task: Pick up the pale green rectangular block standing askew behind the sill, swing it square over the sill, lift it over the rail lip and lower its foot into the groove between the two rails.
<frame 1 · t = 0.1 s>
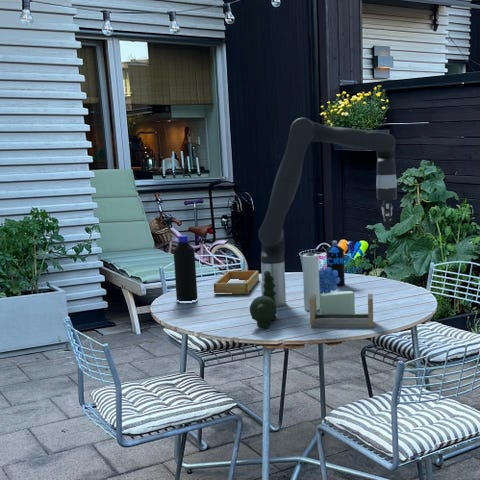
hand: (387, 229, 238), 29 cm above the table, tool pointing down, fingers open, 8 cm apart
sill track: (342, 324, 216), on the table
pale green rectangular block: (337, 317, 226), on the table
grapes: (326, 295, 262), on the table
tray: (237, 288, 286), on the table
toy figurine: (266, 323, 223), on the table
bottle: (187, 301, 263), on the table
paper towel roll: (312, 309, 240), on the table
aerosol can: (336, 285, 280), on the table
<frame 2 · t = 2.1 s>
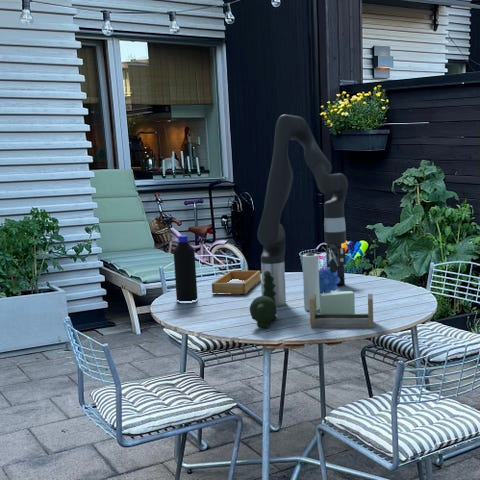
hand: (336, 274, 224), 16 cm above the table, tool pointing down, fingers open, 8 cm apart
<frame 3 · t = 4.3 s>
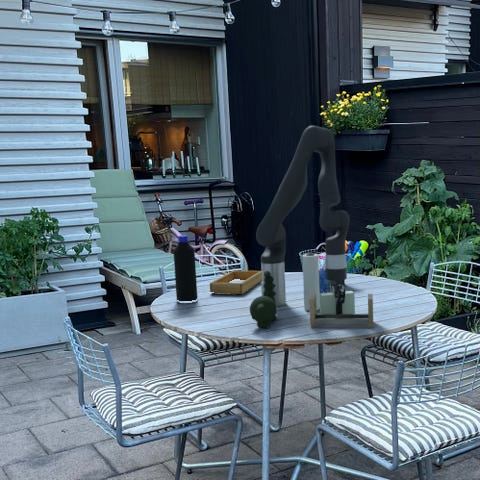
hand: (337, 312, 226), 2 cm above the table, tool pointing down, fingers closed on pale green rectangular block, 3 cm apart
pale green rectangular block: (337, 317, 226), on the table, touching gripper
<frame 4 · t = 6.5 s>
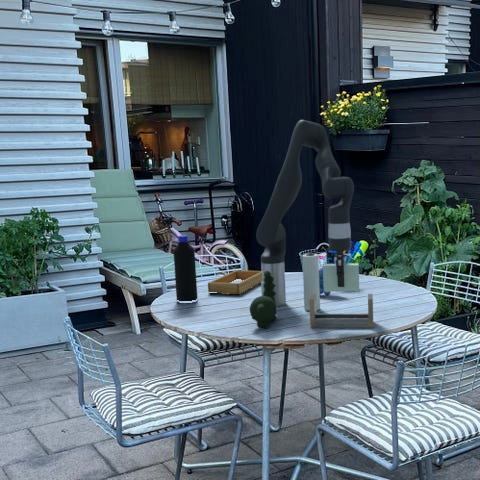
hand: (341, 285, 214), 14 cm above the table, tool pointing down, fingers closed on pale green rectangular block, 3 cm apart
pale green rectangular block: (341, 290, 214), point 12 cm above the table, touching gripper
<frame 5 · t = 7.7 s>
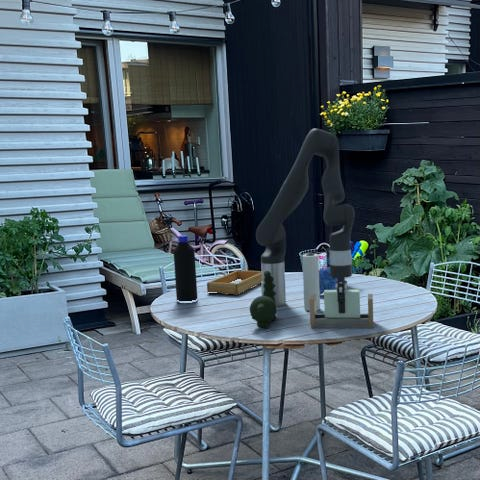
hand: (342, 311, 215), 5 cm above the table, tool pointing down, fingers closed on pale green rectangular block, 3 cm apart
pale green rectangular block: (342, 316, 215), point 3 cm above the table, touching gripper
when the fingers open (4 cm above the table, at t = 8.5 s): pale green rectangular block drops 1 cm, resting on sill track.
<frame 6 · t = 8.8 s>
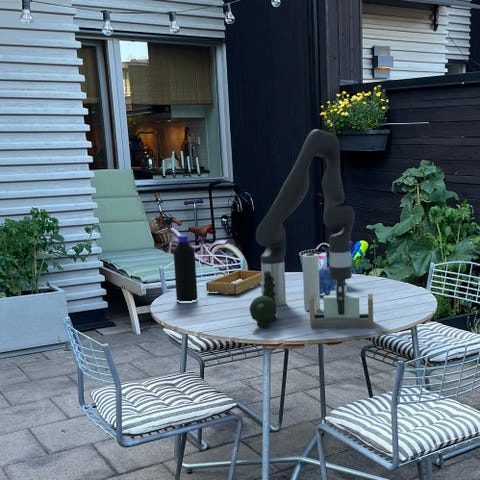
hand: (341, 311, 215), 5 cm above the table, tool pointing down, fingers open, 6 cm apart
pale green rectangular block: (342, 321, 216), point 1 cm above the table, touching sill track
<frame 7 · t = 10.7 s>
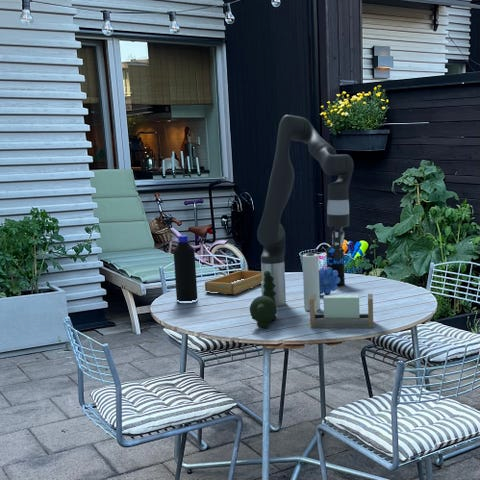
hand: (338, 258, 217), 22 cm above the table, tool pointing down, fingers open, 8 cm apart
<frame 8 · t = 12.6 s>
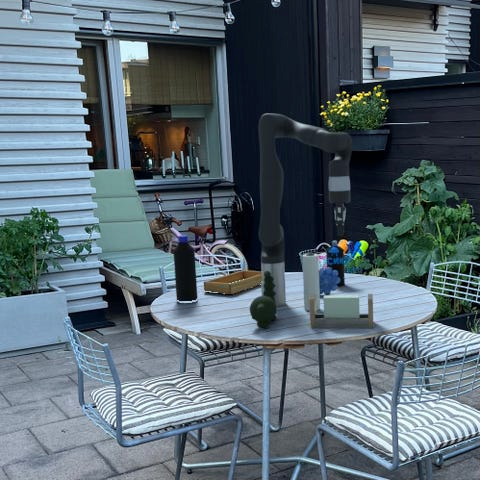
hand: (340, 234, 223), 30 cm above the table, tool pointing down, fingers open, 8 cm apart
at the end: pale green rectangular block inside the target area on the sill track (0.1 cm from its centre), point 1.0 cm above the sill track's base; pale green rectangular block tilted 0°; the gripper is holding nothing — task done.
